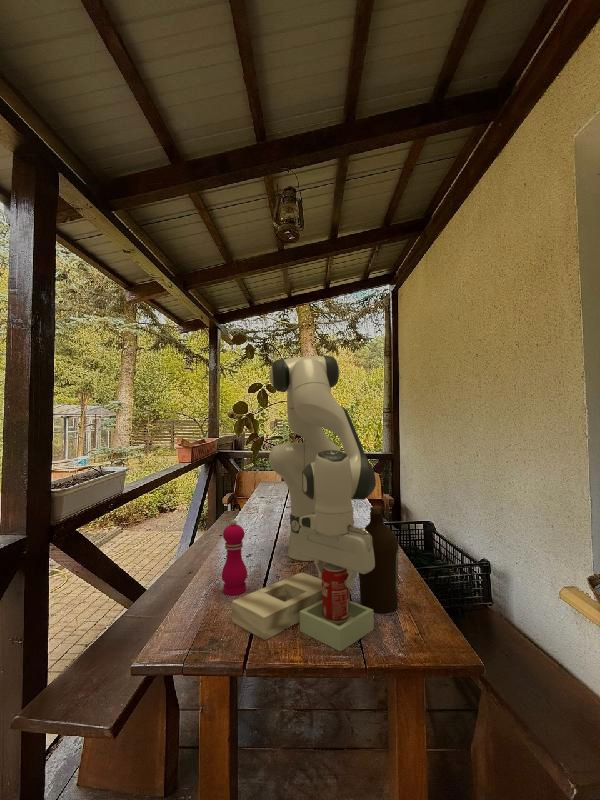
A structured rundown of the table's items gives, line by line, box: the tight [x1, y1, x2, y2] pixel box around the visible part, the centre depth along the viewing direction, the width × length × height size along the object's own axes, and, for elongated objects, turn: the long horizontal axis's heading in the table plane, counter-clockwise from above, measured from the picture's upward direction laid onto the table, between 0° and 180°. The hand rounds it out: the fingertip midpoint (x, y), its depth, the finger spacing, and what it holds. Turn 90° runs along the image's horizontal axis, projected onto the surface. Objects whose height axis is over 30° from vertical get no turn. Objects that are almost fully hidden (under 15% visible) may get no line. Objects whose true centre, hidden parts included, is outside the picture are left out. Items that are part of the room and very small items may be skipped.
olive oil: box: [358, 505, 399, 614], centre depth 109 cm, size 11×11×25 cm
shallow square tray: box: [299, 600, 375, 652], centre depth 97 cm, size 12×12×4 cm
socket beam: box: [231, 572, 322, 641], centre depth 106 cm, size 24×12×5 cm, turn 135°
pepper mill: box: [221, 519, 248, 596], centre depth 119 cm, size 7×7×20 cm
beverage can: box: [322, 562, 351, 624], centre depth 97 cm, size 6×6×12 cm
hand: (335, 582), depth 97 cm, fingers closed on beverage can, 6 cm apart
